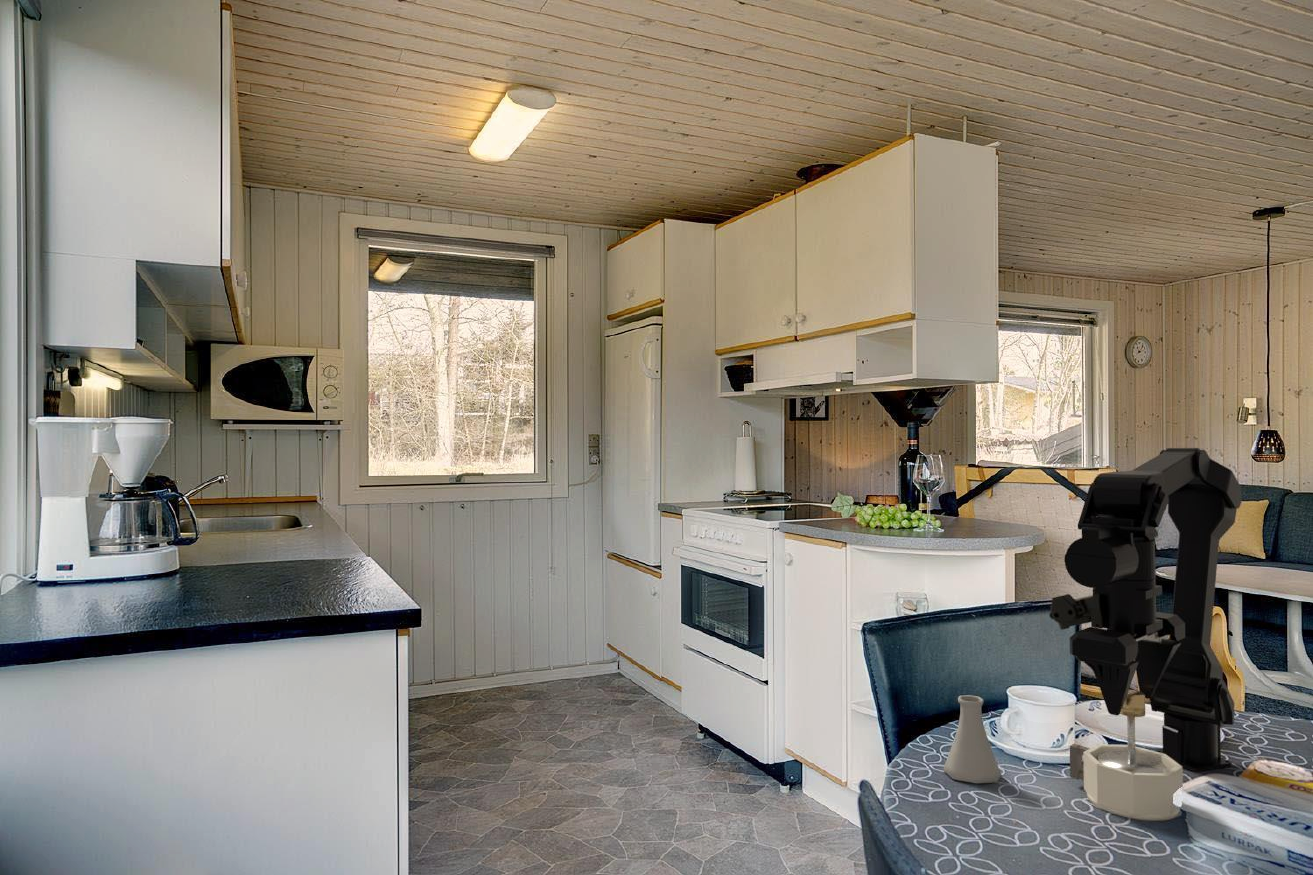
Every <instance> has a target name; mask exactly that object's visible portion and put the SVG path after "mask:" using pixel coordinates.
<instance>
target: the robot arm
mask: <svg viewBox="0 0 1313 875" xmlns="http://www.w3.org/2000/svg"><path fill="white" fill-rule="evenodd" d="M1242 495H1243V493H1242V486H1241V485H1240V483H1239V481H1238V479H1237V477H1236V476H1235V474H1234V472H1233V470H1232V469H1230V468H1228V467H1226V466H1225V465H1223V464H1221V463H1219V462H1217V461H1216V460H1214V459H1211V457H1210V455H1209V454H1208V452H1207V451H1206V450H1205V449H1200V448H1199V447H1167V448H1166V449H1162V450H1160V451H1159V454H1158V455H1156V456H1154V457H1153V458H1151V459H1150V460H1148V461H1145V462H1144V463H1142V464H1140V465H1139V466H1137V467H1136V468H1134V469H1132V470H1122V471H1108V472H1102V473H1099V474H1097V476H1096V477H1095V478H1094V479H1093V482H1091V483H1090V484H1089V487H1088V491H1087V493H1086V496H1085V499H1084V502H1083V507H1082V510H1081V513H1080V515H1079V519H1078V523H1077V530H1081V537H1080V538H1078V539H1076V540H1074V541H1073V542H1072V543H1071V544H1070V545H1069V546H1068V548H1067V550H1066V552H1065V554H1064V561H1063V562H1064V565H1065V566H1064V567H1065V569H1066V571H1067V573H1068V575H1069V576H1070V577H1071V579H1072V580H1074V581H1075V582H1076V583H1077V584H1079V585H1081V586H1082V587H1086V588H1091V589H1092V595H1088V596H1083V597H1078V598H1074V597H1073V596H1072V594H1069V593H1067V594H1064V595H1060V596H1059V595H1058V596H1055V597H1052V598H1051V605H1050V606H1049V608H1050V613H1049V618H1050V619H1051V620H1054V621H1055V622H1056V623H1057V624H1058V627H1059V628H1060V630H1061V631H1062V630H1068V629H1070V627H1074V626H1079V625H1083V624H1090V623H1091V626H1089V627H1086V628H1082V629H1080V630H1077V631H1076V632H1075V633H1074V634H1073V635H1071V636H1070V637H1069V654H1070V655H1071V656H1074V657H1075V658H1076V659H1077V660H1078V661H1080V662H1082V663H1085V665H1086V666H1088V667H1089V668H1090V669H1091V670H1092V672H1093V674H1094V676H1095V679H1096V682H1097V684H1098V686H1099V689H1100V693H1101V695H1102V699H1103V700H1104V703H1105V706H1106V709H1107V712H1108V714H1109V715H1112V716H1119V715H1121V714H1120V712H1121V710H1122V707H1123V705H1124V702H1125V699H1126V696H1127V694H1128V691H1129V690H1130V687H1131V684H1132V681H1133V679H1134V676H1135V673H1136V679H1137V685H1138V691H1139V692H1142V693H1144V694H1145V699H1148V700H1149V702H1150V703H1149V704H1150V708H1151V709H1150V710H1151V711H1152V712H1156V713H1157V712H1159V713H1163V725H1162V731H1161V732H1162V749H1155V750H1154V751H1155V752H1159V753H1163V754H1166V755H1167V756H1169V757H1170V758H1171V759H1173V760H1174V761H1175V762H1177V763H1178V764H1179V765H1181V766H1182V768H1183V767H1184V768H1186V769H1188V770H1190V771H1194V772H1198V771H1199V772H1200V771H1205V770H1212V769H1213V770H1214V769H1219V768H1220V769H1222V768H1226V767H1232V761H1230V760H1228V759H1225V758H1223V757H1222V750H1221V749H1222V747H1221V746H1222V745H1221V744H1222V742H1221V738H1222V737H1221V733H1222V732H1221V727H1223V726H1224V725H1225V726H1229V725H1231V726H1232V725H1234V724H1235V713H1236V712H1235V701H1234V699H1233V697H1232V695H1231V693H1230V691H1229V689H1228V686H1227V684H1226V682H1225V680H1224V678H1223V675H1224V674H1223V672H1224V671H1223V670H1224V668H1223V666H1222V665H1221V662H1220V660H1219V659H1218V657H1217V655H1216V654H1215V651H1214V649H1213V648H1212V647H1211V640H1212V638H1211V637H1212V627H1213V616H1214V615H1213V614H1214V604H1215V592H1216V582H1217V581H1216V580H1217V569H1218V568H1217V567H1218V555H1219V547H1220V546H1219V544H1220V540H1221V538H1222V537H1224V536H1225V534H1226V533H1227V532H1228V531H1229V530H1230V529H1231V528H1232V526H1234V525H1235V523H1236V522H1235V521H1236V516H1237V510H1238V509H1240V507H1241V504H1242V500H1243V496H1242ZM1166 510H1167V514H1168V516H1169V517H1170V519H1171V521H1172V522H1173V524H1174V526H1175V528H1176V529H1177V531H1178V547H1177V557H1176V566H1175V567H1176V568H1175V575H1174V576H1175V577H1174V578H1175V579H1174V586H1173V587H1174V589H1173V598H1172V610H1171V613H1168V612H1167V613H1166V612H1159V611H1157V597H1158V596H1161V595H1163V585H1157V584H1156V540H1155V538H1157V537H1158V536H1159V533H1158V530H1157V528H1159V527H1160V524H1161V522H1162V519H1163V516H1164V513H1165V511H1166Z"/></svg>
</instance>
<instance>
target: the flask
mask: <svg viewBox="0 0 1313 875" xmlns="http://www.w3.org/2000/svg"><path fill="white" fill-rule="evenodd" d="M957 701H958V703H959V705H960V708H959V709H960V714H959V719H958V726H957V730H956V733H955V736H954V738H953V741H952V744H951V747H950V751H949V752H948V756H947V759H946V761H945V764H944V766H943V769H942V771H943V772H945V774H947V775H948V776H949V777H950V779H953V780H955V781H961V782H967V783H971V784H972V783H973V784H988V783H989V784H990V783H991V784H992V783H998V782H999V780H1000V777H1001V775H1002V774H1001V770H1000V768H999V765H998V762H997V760H996V758H995V755H994V751H993V749H992V747H991V744H990V741H989V738H988V735H987V732H986V729H985V725H984V721H983V716H982V715H983V714H982V706H983V705H984V698H982V697H980V696H978V695H977V696H976V695H970V694H965V695H959V696H958V698H957Z"/></svg>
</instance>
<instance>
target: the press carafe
mask: <svg viewBox="0 0 1313 875" xmlns="http://www.w3.org/2000/svg"><path fill="white" fill-rule="evenodd" d="M1107 752H1127V753H1128V744H1100V743H1099V744H1096V745H1094V746H1092V747H1087V746H1084V745H1081V744H1077V743H1072V744H1070V745H1069V776H1070V778H1071V779H1074V780H1078V781H1079V780H1080V781H1083V790H1084V791H1085V792H1086V797H1087V799H1088V801H1089V802H1090V803H1091V804H1092V805H1094V806H1096V807H1097V808H1099V809H1100V810H1103V811H1105V812H1108V813H1110V814H1112V815H1116V816H1121V817H1124V818H1127V819H1134V820H1138V821H1139V820H1140V821H1147V822H1148V821H1149V822H1161V821H1168V820H1173V819H1176V818H1178V817H1179V815H1180V814H1181V808H1178V807H1176V806H1175V805H1174V804H1173V794H1174V793H1175V792H1176V791H1177V790H1178V789H1179V788H1181V787H1183V788H1184V785H1183V784H1184V782H1183V780H1184V778H1183V776H1184V775H1183V771H1184V770H1183V766H1181V765H1179V764H1178V763H1177V762H1175V761H1174V760H1173V759H1171V758H1170V757H1169V756H1167V755H1166V754H1163V753H1159V752H1155V750H1152V749H1146V748H1144V747H1139V746H1136V745H1135V754H1140V755H1144V756H1147V757H1150V758H1153V759H1156V760H1158V761H1160V762H1161V763H1163V764H1164V765H1165V766H1166V768H1167V772H1166V773H1165V774H1162V773H1132V772H1128V771H1125V770H1121V769H1118V768H1114V767H1110V766H1107V765H1103V764H1101V763H1100V762H1099V761H1098V756H1099V755H1101V754H1103V753H1107Z"/></svg>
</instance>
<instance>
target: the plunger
mask: <svg viewBox="0 0 1313 875" xmlns="http://www.w3.org/2000/svg"><path fill="white" fill-rule="evenodd" d="M1119 715H1122V716H1125V717H1127V718H1126V719H1127V720H1126V726H1127V733H1126V734H1127V745H1128V753H1127V752H1107V753H1103V754H1101V755H1099V756H1098V761H1099V762H1100V763H1101V764H1103V765H1107V766H1110V767H1114V768H1118V769H1121V770H1125V771H1128V772H1132V773H1162V774H1165V773H1166V772H1167V768H1166V766H1165V765H1164V764H1163V763H1161V762H1160V761H1158V760H1156V759H1153V758H1150V757H1147V756H1144V755H1140V754H1135V746H1136V718H1142V717H1145V716H1146V698H1145V694H1144V693H1142V692H1140V691H1139V690H1135V689H1129V691H1128V694H1127V696H1126V699H1125V702H1124V705H1123V707H1122V710H1121V712H1120V714H1119Z"/></svg>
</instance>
